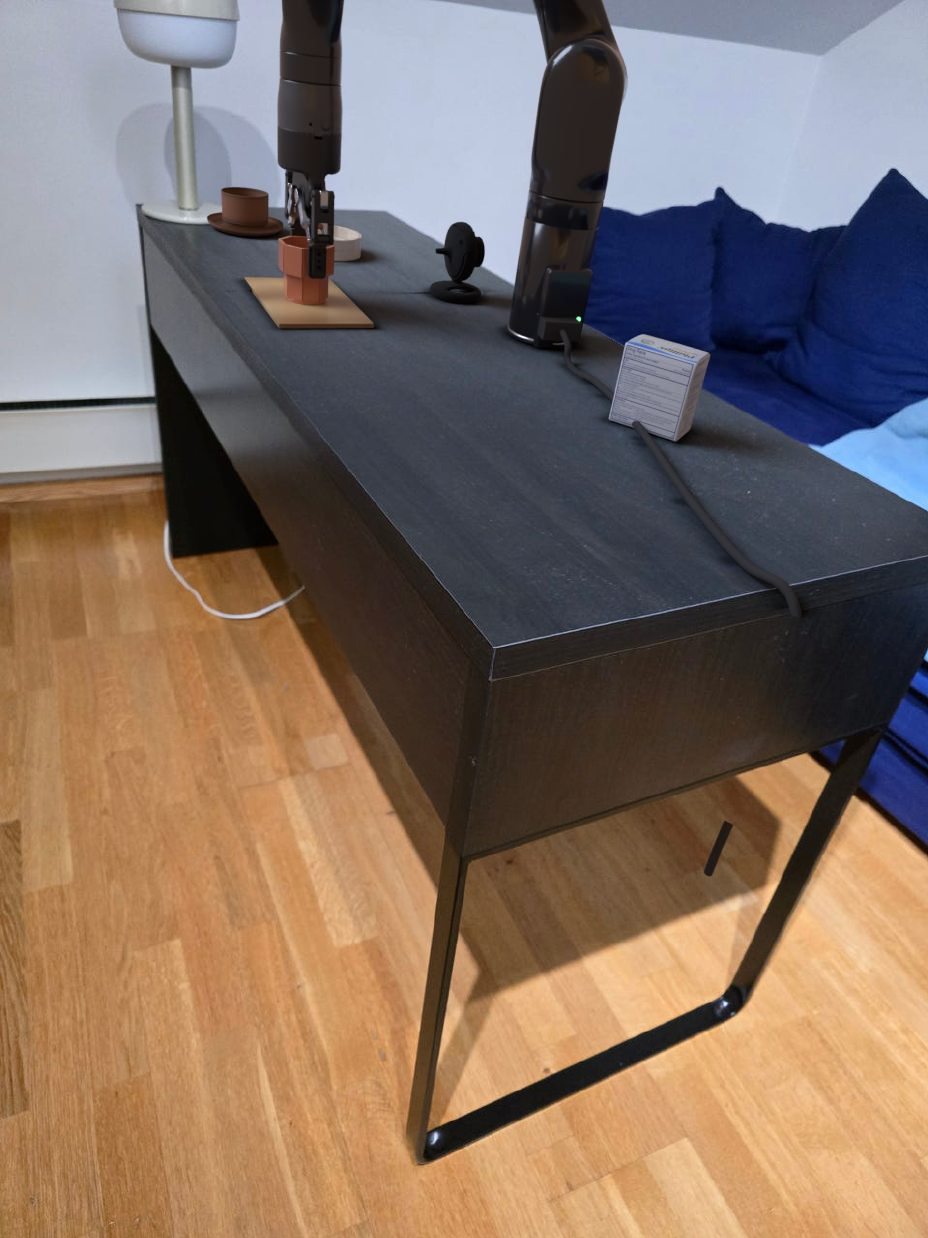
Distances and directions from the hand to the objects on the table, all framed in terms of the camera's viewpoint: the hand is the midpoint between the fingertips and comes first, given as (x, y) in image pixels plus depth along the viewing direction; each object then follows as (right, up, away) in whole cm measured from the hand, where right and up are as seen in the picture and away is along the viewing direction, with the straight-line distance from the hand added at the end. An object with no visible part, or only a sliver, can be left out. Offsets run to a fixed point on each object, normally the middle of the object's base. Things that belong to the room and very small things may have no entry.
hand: (307, 268), depth 113 cm
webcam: (+19, +2, +15) cm, 24 cm away
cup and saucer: (-15, +18, +30) cm, 38 cm away
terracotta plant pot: (-1, -3, +2) cm, 4 cm away
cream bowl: (-1, +12, +25) cm, 27 cm away
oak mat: (-1, -4, +3) cm, 5 cm away
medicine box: (+40, -25, -18) cm, 50 cm away
